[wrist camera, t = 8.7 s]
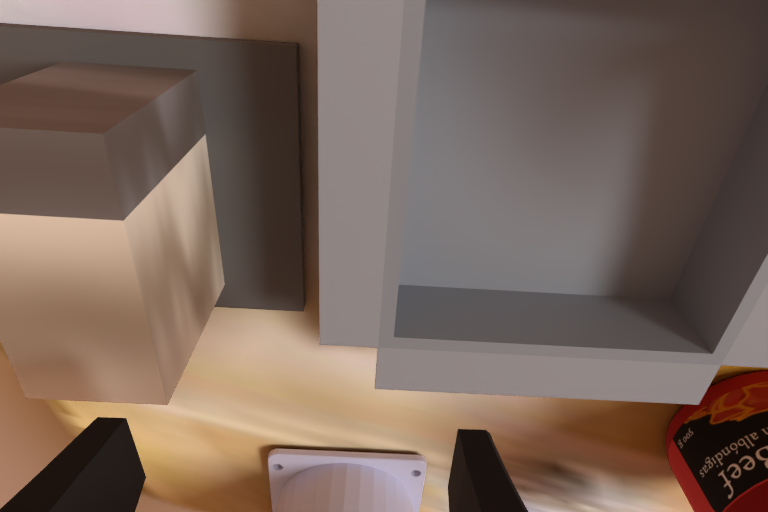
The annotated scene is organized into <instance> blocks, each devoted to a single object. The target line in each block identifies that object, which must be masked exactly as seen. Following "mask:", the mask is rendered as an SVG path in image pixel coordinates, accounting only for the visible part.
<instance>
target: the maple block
mask: <svg viewBox="0 0 768 512" xmlns="http://www.w3.org/2000/svg"><path fill="white" fill-rule="evenodd" d="M224 285H225V283H224V275H223V267H222V259H221V251H220V244H219V236H218V228H217V220H216V213H215V205H214V197H213V189H212V181H211V174H210V166H209V158H208V150H207V142H206V135H205V127H204V119H203V111H202V103H201V96H200V88H199V80H198V72H197V70H187V69H172V68H157V67H142V66H127V65H112V64H96V63H81V62H66V61H64V62H61V63H58V64H55V65H53V66H50V67H47V68H45V69H42V70H39V71H37V72H34V73H31V74H28V75H26V76H23V77H20V78H18V79H15V80H12V81H10V82H7V83H4V84H1V85H0V342H1V344H2V346H3V348H4V350H5V353H6V355H7V357H8V359H9V362H10V364H11V366H12V368H13V370H14V373H15V375H16V377H17V379H18V382H19V384H20V386H21V388H22V391H23V393H24V395H25V397H26V398H32V399H53V400H74V401H95V402H116V403H137V404H158V405H168V403H169V401H170V399H171V396H172V394H173V392H174V390H175V388H176V386H177V384H178V382H179V380H180V378H181V375H182V373H183V371H184V369H185V367H186V365H187V363H188V361H189V359H190V357H191V354H192V352H193V350H194V348H195V346H196V344H197V342H198V340H199V338H200V335H201V333H202V331H203V329H204V327H205V325H206V323H207V321H208V319H209V317H210V314H211V312H212V310H213V308H214V306H215V304H216V302H217V300H218V298H219V296H220V293H221V291H222V289H223V287H224Z"/></svg>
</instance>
